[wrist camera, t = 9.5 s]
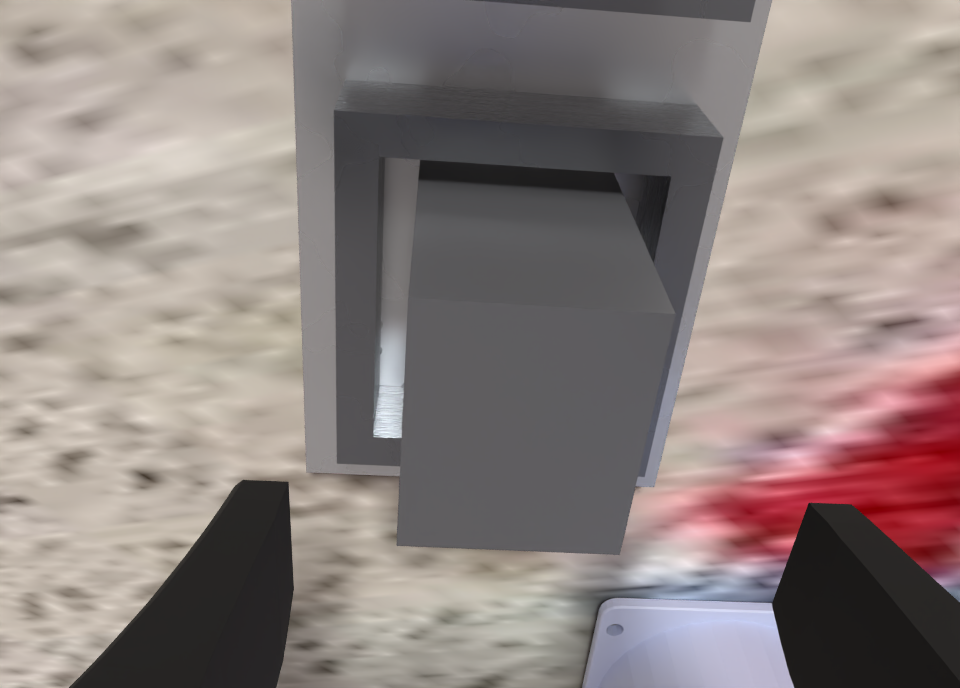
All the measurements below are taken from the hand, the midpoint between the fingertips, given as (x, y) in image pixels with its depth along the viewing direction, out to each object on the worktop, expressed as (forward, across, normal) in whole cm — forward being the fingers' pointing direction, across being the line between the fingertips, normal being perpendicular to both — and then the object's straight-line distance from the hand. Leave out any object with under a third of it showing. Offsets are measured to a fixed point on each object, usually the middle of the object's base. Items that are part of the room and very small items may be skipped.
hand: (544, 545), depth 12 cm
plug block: (+8, 0, 0) cm, 8 cm away
